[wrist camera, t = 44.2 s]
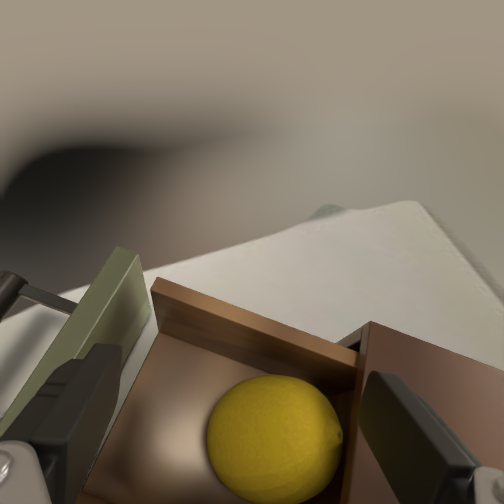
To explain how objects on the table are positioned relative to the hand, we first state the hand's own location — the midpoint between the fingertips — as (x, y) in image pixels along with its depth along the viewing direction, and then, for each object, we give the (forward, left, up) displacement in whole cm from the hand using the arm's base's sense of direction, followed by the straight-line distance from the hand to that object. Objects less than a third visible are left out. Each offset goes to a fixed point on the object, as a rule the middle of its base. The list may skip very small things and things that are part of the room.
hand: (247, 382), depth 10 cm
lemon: (0, -1, -11) cm, 11 cm away
